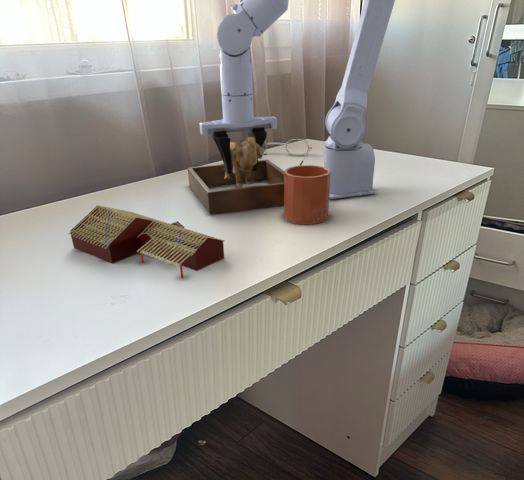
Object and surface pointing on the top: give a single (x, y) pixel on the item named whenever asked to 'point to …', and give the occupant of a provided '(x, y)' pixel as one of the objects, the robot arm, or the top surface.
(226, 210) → the wooden frame
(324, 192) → the cup
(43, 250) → the top surface
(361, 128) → the robot arm
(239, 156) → the lion figurine
